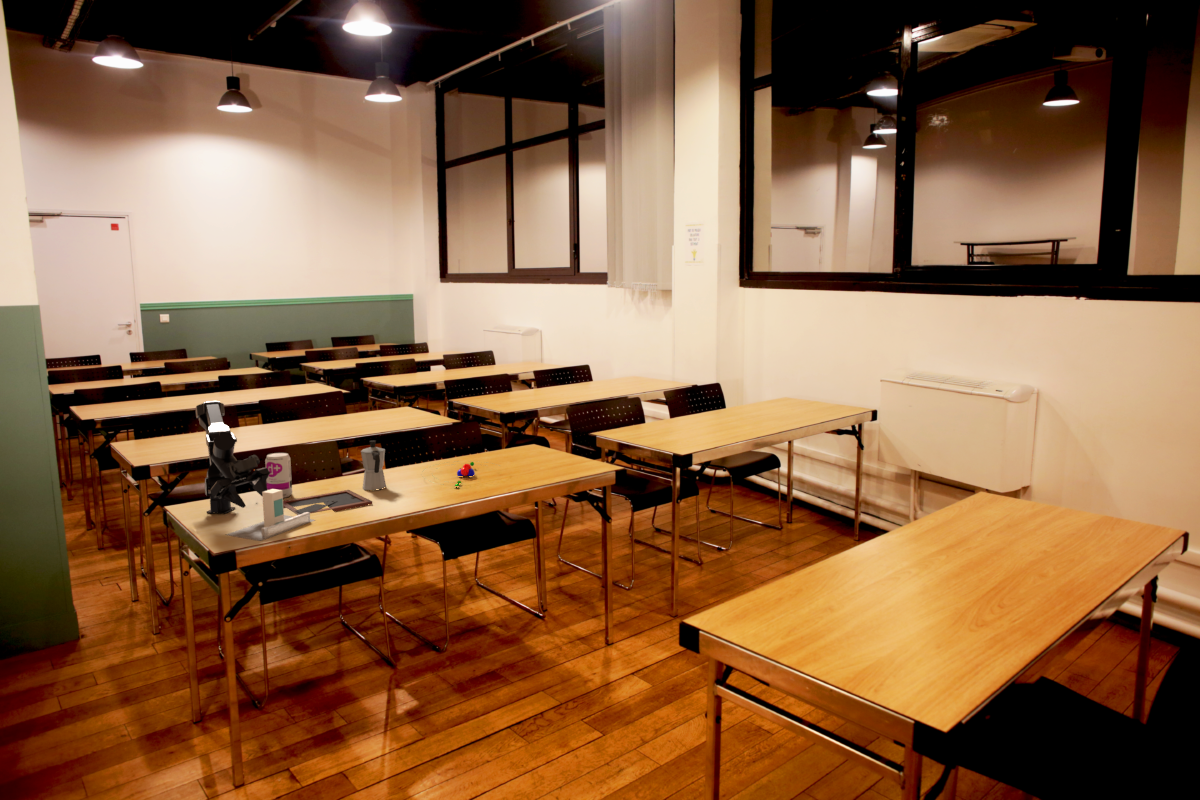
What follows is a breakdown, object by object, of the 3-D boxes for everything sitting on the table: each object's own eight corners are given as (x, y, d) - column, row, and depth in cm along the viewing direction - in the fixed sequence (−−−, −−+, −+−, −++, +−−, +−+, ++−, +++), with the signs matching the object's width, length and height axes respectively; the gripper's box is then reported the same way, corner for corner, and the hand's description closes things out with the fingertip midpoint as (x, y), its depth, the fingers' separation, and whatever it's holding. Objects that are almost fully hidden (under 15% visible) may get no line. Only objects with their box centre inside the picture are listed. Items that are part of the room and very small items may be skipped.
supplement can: (283, 499, 267) (281, 457, 265) (262, 498, 268) (260, 456, 266) (297, 493, 275) (294, 453, 272) (276, 492, 276) (274, 451, 274)
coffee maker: (359, 485, 286) (357, 438, 284) (382, 482, 290) (381, 436, 288) (366, 494, 273) (364, 446, 271) (391, 492, 277) (389, 443, 275)
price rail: (261, 538, 223) (261, 528, 222) (307, 521, 239) (306, 511, 239) (265, 538, 222) (264, 528, 222) (310, 521, 238) (310, 512, 238)
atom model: (502, 493, 283) (502, 479, 282) (410, 489, 283) (410, 474, 282) (514, 467, 317) (514, 454, 316) (433, 463, 317) (433, 450, 316)
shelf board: (225, 537, 226) (225, 534, 225) (282, 517, 246) (282, 514, 246) (260, 544, 220) (260, 540, 220) (315, 523, 240) (315, 520, 240)
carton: (264, 528, 231) (262, 491, 230) (274, 524, 235) (272, 488, 233) (274, 530, 230) (272, 493, 228) (284, 526, 234) (282, 490, 232)
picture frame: (298, 520, 245) (372, 506, 261) (298, 514, 245) (372, 500, 261) (278, 506, 260) (348, 494, 276) (277, 501, 260) (348, 488, 276)
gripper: (214, 454, 225) (244, 494, 223) (264, 442, 242) (292, 479, 240) (197, 477, 229) (226, 517, 227) (247, 464, 246) (275, 501, 244)
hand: (256, 502), depth 234 cm, fingers open, 9 cm apart
